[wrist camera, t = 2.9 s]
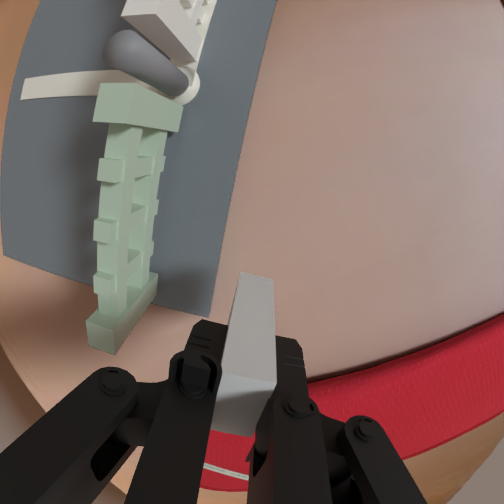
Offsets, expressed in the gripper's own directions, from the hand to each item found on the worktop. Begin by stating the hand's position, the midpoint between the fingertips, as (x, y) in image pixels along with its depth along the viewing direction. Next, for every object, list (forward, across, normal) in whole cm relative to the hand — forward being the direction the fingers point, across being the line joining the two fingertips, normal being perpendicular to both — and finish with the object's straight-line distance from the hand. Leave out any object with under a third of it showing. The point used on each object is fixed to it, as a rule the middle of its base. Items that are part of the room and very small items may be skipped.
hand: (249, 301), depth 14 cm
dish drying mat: (+5, +15, -11) cm, 19 cm away
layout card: (+4, -11, +8) cm, 14 cm away
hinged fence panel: (+3, -6, +4) cm, 8 cm away
